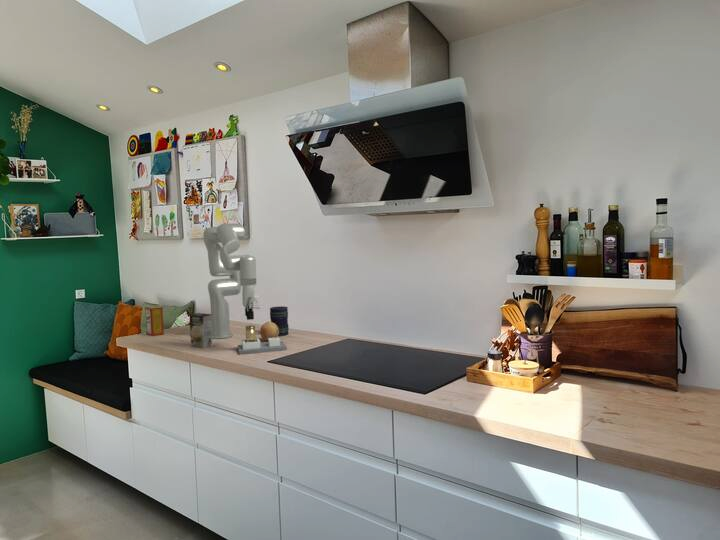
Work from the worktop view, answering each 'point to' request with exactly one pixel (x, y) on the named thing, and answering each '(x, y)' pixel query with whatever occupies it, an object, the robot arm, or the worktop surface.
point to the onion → (269, 330)
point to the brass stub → (250, 333)
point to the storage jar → (280, 319)
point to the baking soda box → (154, 320)
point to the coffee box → (200, 330)
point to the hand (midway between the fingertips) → (249, 317)
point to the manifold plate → (261, 346)
